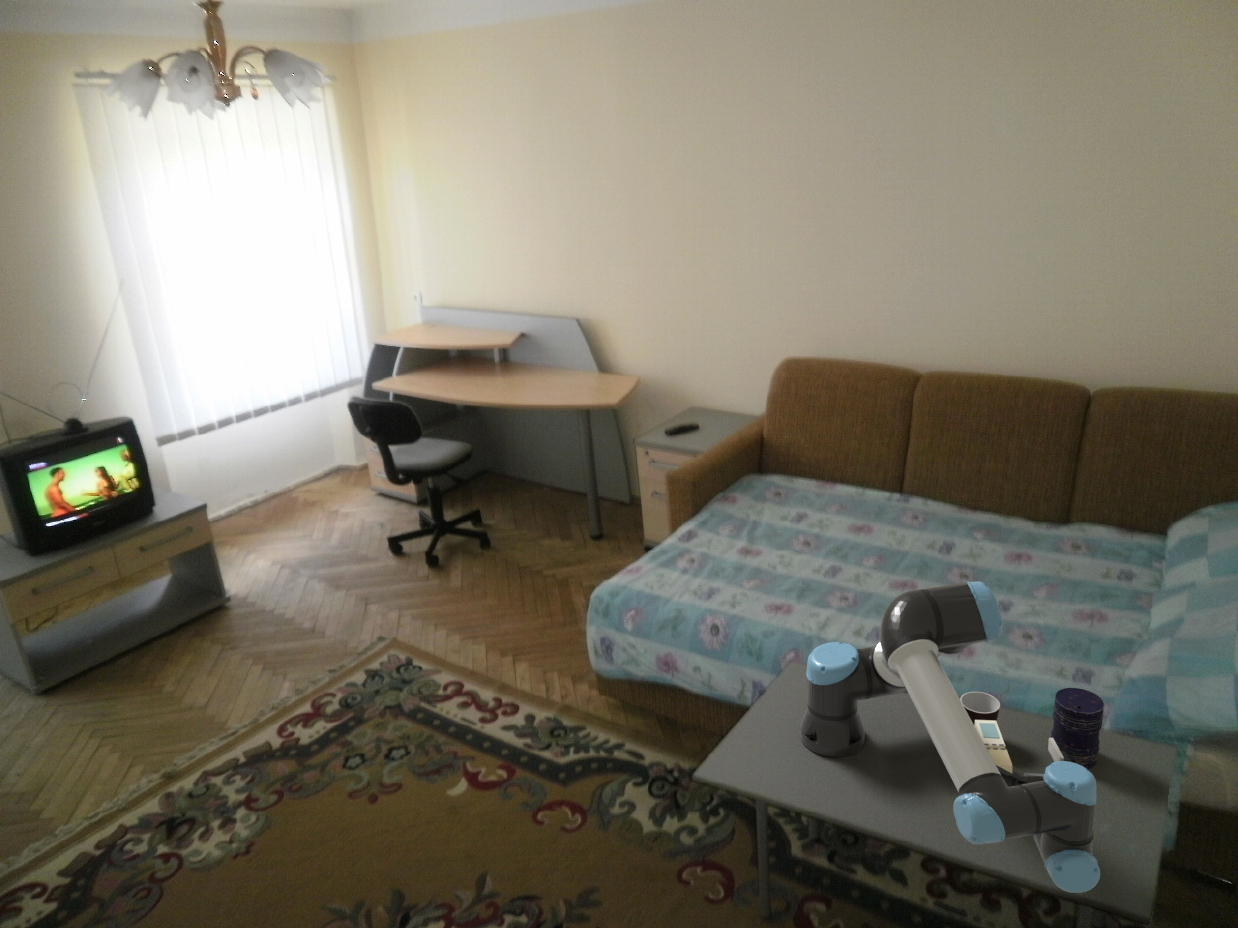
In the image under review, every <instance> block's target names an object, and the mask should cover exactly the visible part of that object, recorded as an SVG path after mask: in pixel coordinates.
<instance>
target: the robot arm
mask: <svg viewBox="0 0 1238 928" xmlns="http://www.w3.org/2000/svg"><path fill="white" fill-rule="evenodd" d="M1002 626H1003V623H1002V614H1001V609H1000V605H999V603H998V600H997V598H996V595H995V594H994V592H993V591H992V589H991V588H990V587H989V586H988V585H987V584H986V583H984V582H983V581H978V580H977V581H965V582H960V583H954V584H947V585H941V586H936V587H935V586H933V587H930V588H929V587H928V588H922V589H913V590H908V591H905V592H903V593H901V594H899V595H897V596H896V597H895V598H894V599H892V601H890V603H889V604H888V606H887V607H886V609H885V611H884V612H883V614H882V617H881V621H880V626H879V642H878V643H877V644H876V645H873V646H867V647H860V648H855V647H854V645H852V644H850V643H846V642H842V643H841V642H839V641H831V642H827V643H822V644H821V645H819V646H817V647H815V648H814V649H813V650H812V651H811V652H810V653H809V656H807V657H808V658H807V665H806V670H805V671H806V672H805V675H806V708H805V712H804V715H803V717H802V719H801V722H800V724H799V737H800V741H801V743H802V744H803V745H804V746H805V747H806V749H808V750H809V751H811V752H813V753H816V754H818V755H820V756H821V755H822V756H825V757H834V758H838V757H839V758H841V757H847V756H850V755H853V754H856V753H857V752H859V751H860V750H861V749H862V748H863V747H864V746H863V745H864V744H865V737H866V736H865V729H864V725H863V722H862V720H861V717H860V714H859V711H858V701H859V702H860V701H862V700H863V701H864V700H869V699H870V700H871V699H875V698H880V697H881V698H883V697H887V696H894V695H901V694H908V695H909V697H910V700H911V701H912V703H913V705H914V707H915V709H916V711H917V713H918V715H919V717H920V719H921V721H922V723H923V725H924V727H925V729H926V731H927V733H928V736H929V737H930V739H931V741H932V743H933V745H934V746H935V748H936V751H937V753H938V754H939V756H940V758H941V761H942V762H943V765H944V766H945V768H946V771H947V773H948V774H949V776H950V778H951V780H952V782H953V784H954V786H955V789H956V790H957V792H958V794H959V795H958V796H957V797H956V798H955V800H954V802H953V805H952V807H953V811H952V812H953V815H954V819H955V821H956V827H957V829H958V831H959V833H960V834H961V835H962V837H963V838H964V839H965V840H966V841H968V842H969V843H970V844H973V845H982V844H983V845H984V844H997V843H1001V842H1004V841H1008V840H1013V839H1018V838H1023V837H1027V836H1032V838H1033V840H1034V842H1035V845H1036V847H1037V849H1038V852H1039V854H1040V857H1041V859H1042V861H1043V864H1044V869H1045V870H1046V871H1047V873H1048V875H1049V877H1050V878H1051V880H1052V882H1053V883H1054V885H1056V886H1057V888H1059V889H1060V890H1062V891H1064V892H1067V893H1073V894H1075V893H1076V894H1081V893H1082V894H1083V893H1086V892H1088V891H1090V890H1092V889H1093V888H1095V887H1096V886H1097V884H1098V882H1099V881H1100V878H1101V869H1100V867H1099V864H1098V860H1097V858H1096V856H1094V853H1093V847H1094V845H1093V844H1094V822H1095V817H1096V816H1095V815H1096V813H1095V812H1096V805H1097V803H1098V802H1097V801H1098V800H1097V799H1098V797H1097V795H1098V794H1097V793H1098V792H1097V791H1098V789H1097V780H1096V777H1095V776H1094V774H1093V773H1092V772H1090V770H1087V769H1086V768H1085V767H1083V762H1081V761H1076V763H1075V762H1072V761H1071V760H1070V759H1069V758H1068V756H1067V754H1066V752H1064V751H1060V750H1059V748H1058V746H1057V744H1056V742H1055V741H1054V739H1053V738H1051V737H1048V747H1047V750H1048V753H1049V755H1050V754H1051V756H1052V758H1053V759H1052V758H1051V759H1052V760H1053V762H1051V764H1049V765H1047V766H1046V767H1045V769H1044V770H1045V771H1044V773H1043V774H1044V776H1043V778H1041V777H1028V776H1024V775H1023V776H1022V775H1020V774H1018V773H1016V772H1012V773H1010V772H1008V771H1006V770H1005V769H1003V768H1001V767H999V766H997V765H995V763H994V761H993V759H992V757H991V756H990V754H989V752H988V750H987V748H986V746H985V745H984V743H983V741H982V739H981V737H980V735H979V734H978V732H977V730H976V728H975V726H974V724H973V723H972V721H971V719H970V717H969V715H968V713H967V712H966V710H965V708H964V706H963V704H962V702H961V701H960V697H959V695H958V693H957V691H956V690H955V688H954V686H953V684H952V682H951V680H950V679H949V677H948V675H947V673H946V671H945V669H944V668H943V665H942V664H941V662H940V661H939V658H940V657H942V656H943V655H956V654H959V653H962V652H963V651H965V650H966V649H968V648H970V647H971V646H972V645H974V644H979V643H984V642H986V643H989V642H990V641H994V640H996V639H998V638H999V637H1000V635H1001V633H1002V629H1003V627H1002ZM1051 756H1050V757H1051Z"/></svg>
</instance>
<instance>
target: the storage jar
mask: <svg viewBox="0 0 1238 928" xmlns="http://www.w3.org/2000/svg"><path fill="white" fill-rule="evenodd" d="M1054 695H1055V696H1054V703H1053V708H1052V709H1053V712H1052V716H1053V717H1052V718H1053V726H1052V730H1051V732H1050V733H1051V734H1050V738H1053V739H1054V741H1055V742H1056V744H1057V746H1058V748H1059V750H1060V751H1064V752H1066V754H1067V756H1068V758H1069V759H1070V760H1071V761H1072V762H1075V763H1076V761H1081V762H1083V767H1085V768H1086V769H1087V770H1088V771H1090V770H1092V769H1093V768H1095V767H1096V766H1097V763H1098V757H1099V754H1100V731H1101V729H1102V726H1103V720H1104V707H1105V703H1104V701H1103V699H1102V698H1101V697H1100V696H1099V695H1098V694H1096V693H1095V692H1092V691H1090V690H1087V689H1083V688H1079V687H1078V688H1077V687H1066V688H1065V687H1064V688H1062V689H1059V690H1058V691H1056V693H1055V694H1054ZM1049 756H1050V757H1051V759H1052V760H1053V758H1052V756H1051V754H1050V753H1049Z"/></svg>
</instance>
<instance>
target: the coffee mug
mask: <svg viewBox="0 0 1238 928" xmlns="http://www.w3.org/2000/svg"><path fill="white" fill-rule="evenodd" d="M959 699H960V701H961V702H962V704H963V706H964V708H965V710H966V712H967V713H968V715H969V717H970V719H971V721H972V723H973V724H974V725H975V720H993V721H997V722H998V718H999V717H998V716H999V713H1000V708H1001V702H1000V701H999V699H997V697H995V696H993V695H991V694H989V693H986V692H982V691H969V692H965V693H963V694H962V695H960V697H959Z"/></svg>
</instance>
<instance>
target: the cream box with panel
mask: <svg viewBox="0 0 1238 928" xmlns="http://www.w3.org/2000/svg"><path fill="white" fill-rule="evenodd" d="M974 726H975V728H976V730H977V732H978V734H979V735H980V737H981V739H982V741H983V743H984V745H985V746H986V748H991V749H993V748H998V749H1001V748H1005V749H1006V743H1005V742H1004V741H1005V740H1004V738H1003V735H1002V733H1001V730H1000V727H999V725H998V720H997V721H993V720H975V725H974Z"/></svg>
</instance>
